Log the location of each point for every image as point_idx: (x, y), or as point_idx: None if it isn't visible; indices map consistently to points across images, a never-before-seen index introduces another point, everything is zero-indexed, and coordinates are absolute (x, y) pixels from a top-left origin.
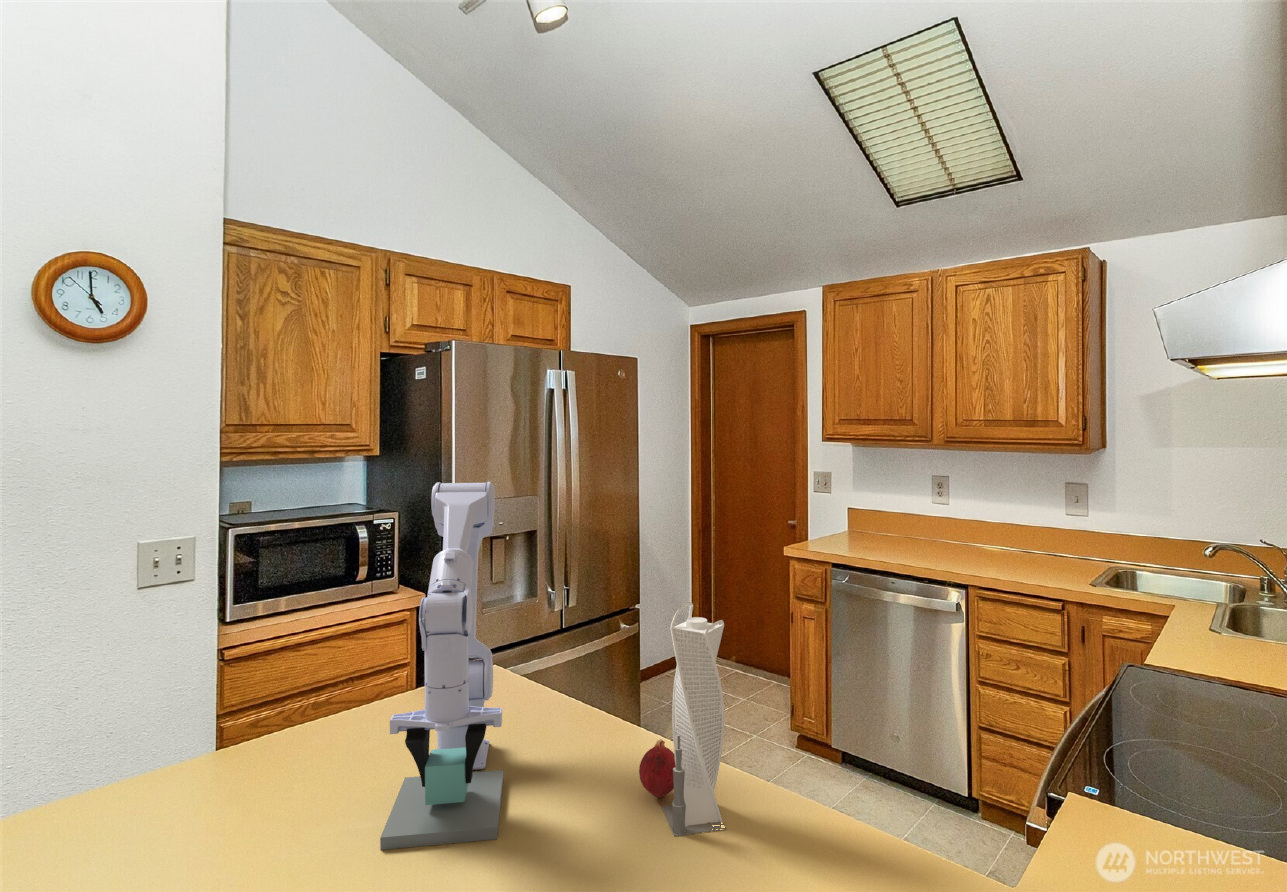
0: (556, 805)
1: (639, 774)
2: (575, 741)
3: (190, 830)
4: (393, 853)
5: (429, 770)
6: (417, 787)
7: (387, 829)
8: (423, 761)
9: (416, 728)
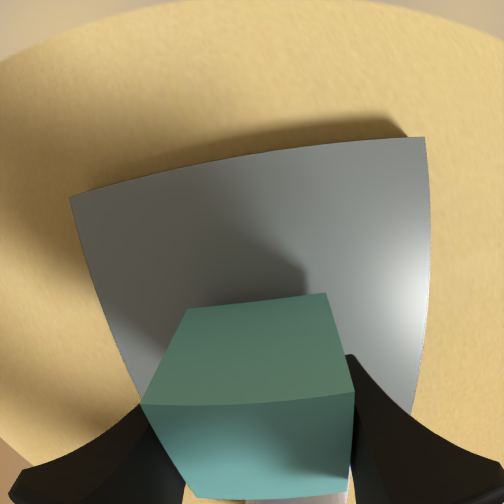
0: (31, 326)
1: None
2: None
3: None
4: (366, 115)
5: (326, 380)
6: None
7: (417, 182)
8: (369, 424)
9: None
